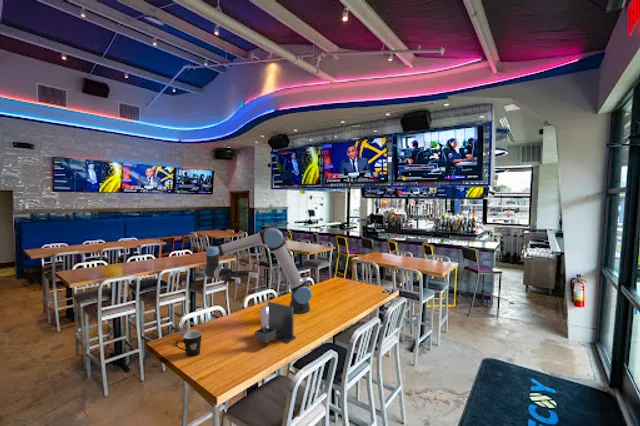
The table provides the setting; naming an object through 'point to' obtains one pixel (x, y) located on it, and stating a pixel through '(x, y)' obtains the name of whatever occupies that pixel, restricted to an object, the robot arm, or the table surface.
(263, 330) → the rail post
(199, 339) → the coffee mug
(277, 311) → the cup bracket
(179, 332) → the pipe connector
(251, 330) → the table surface
